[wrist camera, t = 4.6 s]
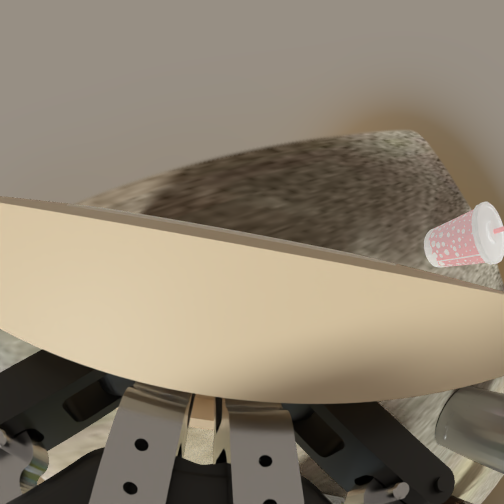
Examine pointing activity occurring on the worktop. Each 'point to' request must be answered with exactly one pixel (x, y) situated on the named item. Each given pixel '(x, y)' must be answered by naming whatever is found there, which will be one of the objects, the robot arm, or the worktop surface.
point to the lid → (237, 309)
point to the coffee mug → (455, 501)
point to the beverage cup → (467, 239)
